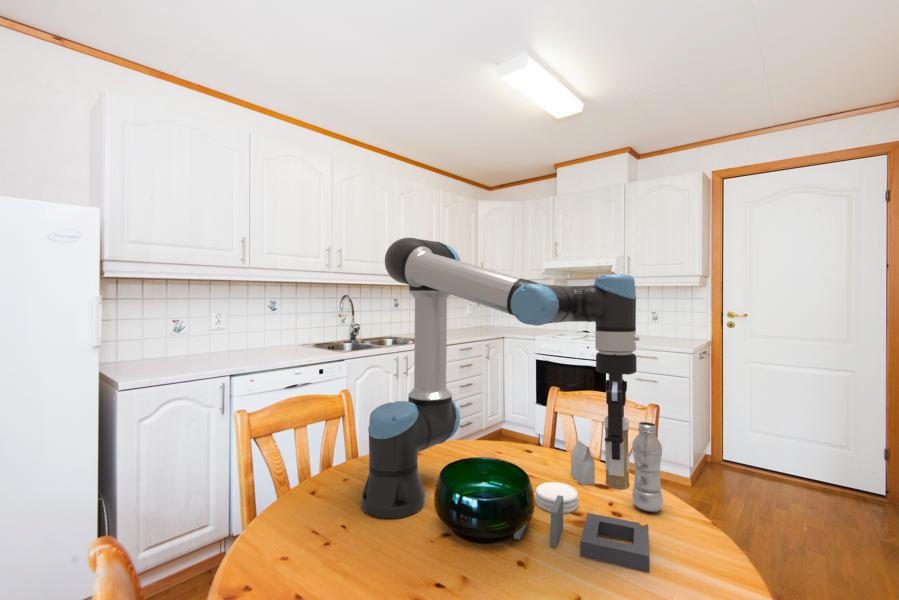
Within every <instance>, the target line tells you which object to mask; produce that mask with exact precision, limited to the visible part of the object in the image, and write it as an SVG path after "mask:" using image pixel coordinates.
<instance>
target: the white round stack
mask: <svg viewBox="0 0 899 600" xmlns="http://www.w3.org/2000/svg"><path fill="white" fill-rule="evenodd" d="M558 495H560V496H563V515H564V513H565V514H569V513H573V512H575V511H576V510H577V509H578V507H579V493H578V491H577V489H576V488H574V487H572V486H571V485H569V484H566V483H563V482H555V481H554V482H552V481H549V482H543V483H541V484H539V485H538V486H536V487H535V504H536V505H537V507H538V508H540V509H541V508H542V509H541V510H543V509H544V510H543V511H545V510H546V512H548V513H551V510H552V507H553V505H554V503H555V500H556V498H557V496H558Z"/></svg>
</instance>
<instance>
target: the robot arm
mask: <svg viewBox="0 0 899 600" xmlns="http://www.w3.org/2000/svg"><path fill="white" fill-rule="evenodd" d="M460 258H461V257H460V255H459V254H458V252H457V250H455V249H454V247H452V246H450V245H449V244H447V243H443V242H440V241H433V240H427V239H421V238H420V239H418V238H414V237H403V238H399V239H397V240H396V241H394V242H392V243H391V245H389V246H388V248H387V250H386V252H385V256H384V266H385V267H384V268H385V269H386V271H387V273H388V276H389V277H390V278H392V279H393V280H394V281H395V282H398V283H400V284H405V285H408V286H409V287H408V293H410V295H411V296H412V297H413V298H414V346H413V347H414V363H413V364H414V365H413V366H414V370H413V372H414V374H413V377H414V378H413V379H414V382H413V389H412V390H411V391H409V393H408V397H407V399H408V401H407V400H405V401H404V400H403V401H402V400H398V401H397V400H396V401H395V402H391V401H390V402H386V403H384V404H381V405H379V406H377V407H376V408H374V409H373V410H372V411H371V412H370V414H369V423H368V424H369V425H368V430H367V432H368V449H369V450H368V475H367V479H366V481H365V485H364V488H363V491H362V493H361V494H362V495H361V509H362V508H363V509H362V511H363V510H364V511H365V512H366V513H365V512H364V511H363V512H364V513H365V514H367V513H368V514H369V515H368V514H367V515H368V516H371V515H372V516H371V517H373V516H375V517H374V518H377V517H380V518H379V519H384V518H392V519H393V518H394V519H401V518H400V517H402V518H406V517H409V516H408V515H410V514H412V515H414V514H416V513H418V512H419V511H421V510H422V509H423V508H422V507H424V506H425V504H424V503H426V501H425V500H426V494H425V489H424V487H423V486H424V485H423V483H422V480H421V477H420V473H419V470H418V466H419V465H418V464H419V463H418V456H419V455H418V453H420V452H423V451H425V450H427V449H430V448H431V447H435V446H437V445H441V444H443V443H446V441H447V440H449V439H451V438H452V437H453V436H455V434H456V433H457V431H458V430H459V426H460V423H461V422H460V421H461V414H460V410H459V407H458V406H457V404H456V402H455V401H454V400H453V394H452V392H451V391H450V390H449V389H448V388H447V347H448V346H447V345H448V344H447V341H448V339H447V336H448V335H447V333H448V329H447V328H448V323H447V322H448V319H447V318H448V315H447V314H448V298H449V297H451V296H455V297H458V298H461V299H464V300H466V301H469V302H472V303H476V304H479V305H481V306H484V307H488V308H490V309H494V310H496V311H499V312H502V313H506V314H508V315H510V316H514V317H515V318H516V320H517V321H519V322H520V323H522V324H525V325H529V326H530V325H532V326H543V325H546V324H556V323H557V324H558V323H567V322H568V323H569V322H571V323H573V322H576V323H577V322H578V323H581V322H586V323H587V322H588V323H595V330H594V331H595V332H594V333H595V336H594V337H595V338H594V339H595V350H596V351H598V352H597V353H596V354H595V370H596V371H597V372H599V373H601V374H607V375H608V379H606V380H605V382H604V390H605V392H606V393H605V395H606V396H605V397H606V398H605V399H606V401H605V403H606V405H607V416H608V438H605V437H604V442H605V441H608V452H609V475H615V476H622V477H624V441H623V417H625V405H626V400H627V397H626V396H627V390H628V381H627V380H625V379H623V378H624V377H623V375H634V374H635V373H637V369H638V368H637V355H636V354H635V353H634V352H636V351H637V342H639V341H640V339H641V338H640V336H639V335H636V332H637V331H636V330H637V328H636V326H637V325H636V324H637V323H636V321H637V315H636V313H637V299H638V298H637V296H636V294H637V293H636V282H635V281H636V280H635V278H634V277H633V276H632V275H630V274H626V273H624V274H623V273H621V274H620V273H619V274H618V273H614V274H600V275H597V276H596V277H595V278H594V283H593V284H590V285H556V284H555V285H553V284H545V283H541V282H536V281H533V280H530V279H525V278H521V277H518V276H514V275H512V274H508V273H504V272H500V271H496V270H493V269H490V268H485V267H483V266H479V265H474V264H473V263H468V262H464V261H461V259H460ZM636 341H637V342H636ZM423 505H424V506H423ZM421 508H422V509H421ZM420 509H421V510H420ZM418 510H419V511H418ZM417 511H418V512H417ZM415 512H416V513H415ZM413 513H414V514H413ZM405 516H406V517H405ZM410 516H411V515H410ZM392 519H391V520H392Z"/></svg>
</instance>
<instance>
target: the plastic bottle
mask: <svg viewBox="0 0 899 600" xmlns="http://www.w3.org/2000/svg"><path fill="white" fill-rule="evenodd" d="M637 428H638V429H637V431H638V434H637V435H636V436H635V437H634V439H633V440H632V443H631V445H632V446H631V447H632V454H633V460H634V461H633V462H634V480H633V483H634V484H633V487H632V493H631V497H632V502H633V504H634V505H635V507H636V508H638V509H639V510H642V511H644V512H648V513H658V512H660V510H661V509H662V507H663V504H664V498H663V492H662V488H661V463H662V462H661V461H662V454H663V447H662V443H661V441H660V440H659V439H658V437H657V436H656V434H657V426H656V424H655V423H653V422H649V421H640V422H638V427H637Z"/></svg>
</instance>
